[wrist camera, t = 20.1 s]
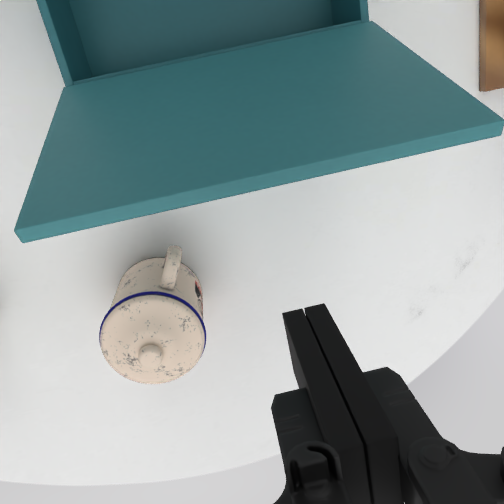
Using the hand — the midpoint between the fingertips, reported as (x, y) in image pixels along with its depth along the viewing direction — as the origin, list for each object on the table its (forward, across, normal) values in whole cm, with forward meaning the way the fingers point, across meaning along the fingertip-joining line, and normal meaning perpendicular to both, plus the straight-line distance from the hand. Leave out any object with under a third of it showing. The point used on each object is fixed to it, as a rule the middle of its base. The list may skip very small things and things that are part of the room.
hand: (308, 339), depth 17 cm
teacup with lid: (+29, -10, -9) cm, 32 cm away
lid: (+13, 0, +8) cm, 15 cm away
